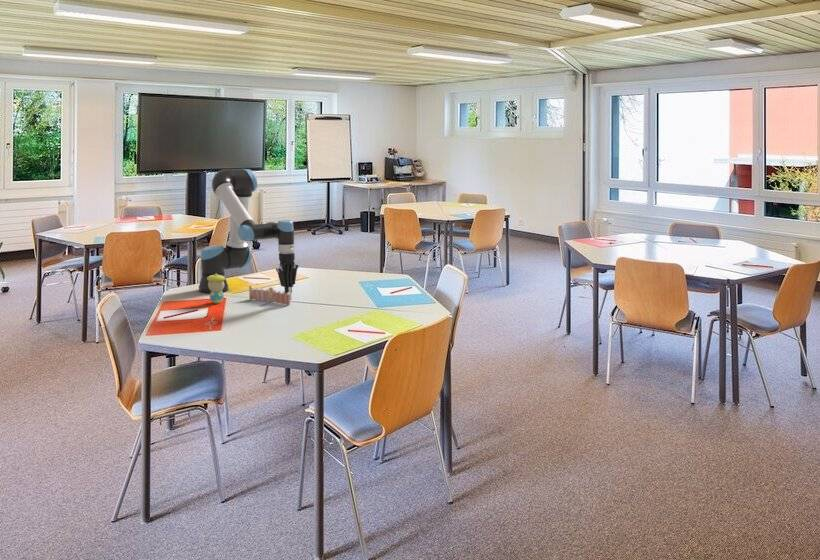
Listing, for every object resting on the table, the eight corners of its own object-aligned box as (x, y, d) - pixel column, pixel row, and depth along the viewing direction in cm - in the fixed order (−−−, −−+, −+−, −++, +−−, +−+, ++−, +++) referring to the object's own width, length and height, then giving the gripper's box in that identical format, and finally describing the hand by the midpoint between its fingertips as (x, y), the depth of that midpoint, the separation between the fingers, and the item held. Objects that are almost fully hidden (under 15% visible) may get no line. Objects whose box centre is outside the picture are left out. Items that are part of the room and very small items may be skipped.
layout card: (242, 305, 324) (242, 304, 324) (258, 299, 337) (258, 298, 337) (277, 309, 318) (277, 308, 317) (292, 303, 330) (292, 302, 330)
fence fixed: (275, 302, 331) (274, 287, 330) (272, 303, 329) (272, 288, 328) (251, 299, 336) (250, 284, 335) (248, 300, 334) (247, 285, 332)
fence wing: (273, 301, 329) (273, 290, 328) (274, 301, 330) (274, 289, 329) (288, 305, 323) (288, 293, 322) (289, 304, 324) (289, 292, 323)
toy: (217, 300, 332) (215, 271, 329) (229, 303, 327) (228, 273, 324) (204, 303, 326) (202, 273, 323) (216, 306, 321) (215, 275, 318)
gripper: (282, 255, 315) (284, 303, 320) (301, 251, 325) (303, 298, 330) (271, 253, 319) (273, 301, 324) (291, 249, 329) (292, 296, 334)
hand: (288, 299), depth 327 cm, fingers closed
